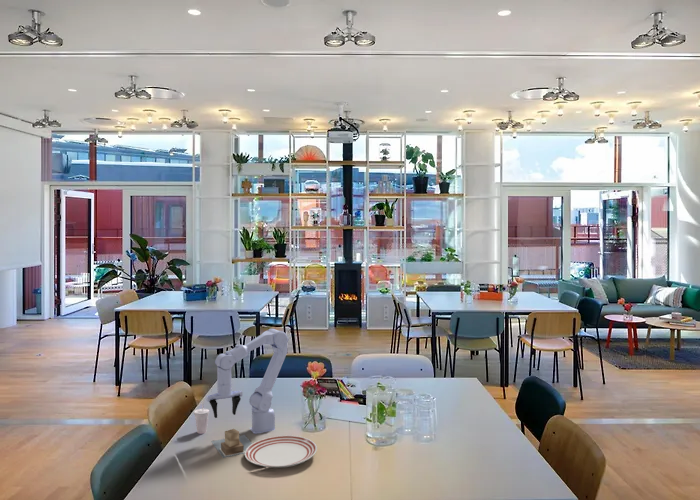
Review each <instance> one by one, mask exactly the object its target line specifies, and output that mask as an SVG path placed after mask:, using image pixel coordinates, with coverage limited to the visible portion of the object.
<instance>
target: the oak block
mask: <svg viewBox="0 0 700 500" xmlns="http://www.w3.org/2000/svg"><path fill="white" fill-rule="evenodd" d="M239 436H240V430H239V431H238V430H237V429H235V428H232V429H229V430H228V429H227V430H225V431H224V439H225V444H226V445H228V446H229V447H232V446H235V445H238V444H239Z"/></svg>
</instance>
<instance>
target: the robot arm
mask: <svg viewBox="0 0 700 500" xmlns="http://www.w3.org/2000/svg"><path fill="white" fill-rule="evenodd" d="M288 343H289V337H288V335H287V333H286V332H284V331H283V330H278V329H276V328H269V329H267V330H265V331H263V332H262V333H261V334H260V335H258V336H256V337H254V339H252V340H250V341H249V342H247V343H245V344H244V345H243V344H235V347H233V348H232V349H230V350H225V353H219V354H218V355H217V356H216V357H215V360H214V364H215V366H216V369H217V372H216V374H217V375H216V376H217V377H216V378H217V380H216V381H217V382H216V383H217V393H212V394H209V395H206V401H207V402H209V404H210V407H211V409H212V412H213V416H214V418H215V419H217V418H218V400H224V399H229V398H230V399H231V403H232V414H233V415H234V416H235V415H236V413H237V409H238V406H239V404H240V402H241V397H243V390H232V389H233V388H232V385H233V383H232V381H233V380H232V368H233V366H234V365H235V364H236V363H238V362H240V361H242V359H245V358H247V357H248V355H249V353H250V352H251V351H254V350H256V349H257V348H259V347H261V346H263V345H270V346H271V348H272V350H273V354H272V355H271V356H272V357H271V358H270V361H269V364H268V365H267V368H266V371H265V373H264V374H263V375H264V376H263V377H262V379H261V382H260V385H259V386H257V387H256V388H255V389H254V391H253V393H252V394H251V395H250V396H249V399H248V402H249V405H250V406H251V427H249V428H248V429H250V431H251V432H252V433H253V434H255V435H257V434H262V433H263V434H264V433H266V432H273V431H276V427H275V426H276V425H275V424H276V417H275V416H276V415H275V411H274V409H273V408H271V407H272V399H273V397H274V396H273V392H272V391H273V388H274V387H275V386H274V385H275V383H276V380H277V378H278V376H279V373H280V371H281V369H282V366H283V363H284V362H285V359H286V358H287V357H286V356H287V355H288Z"/></svg>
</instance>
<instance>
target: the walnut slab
mask: <svg viewBox="0 0 700 500" xmlns="http://www.w3.org/2000/svg"><path fill="white" fill-rule="evenodd" d="M221 450H222V451H223V452H224V454H225V455H231V454H236V453H241V452H244V445H243V444H242V443H241V442H240V441H239V444H238V445H235V446H232V447H229V446H228V445H226V444H225V442H222V443H221Z"/></svg>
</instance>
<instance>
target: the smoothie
mask: <svg viewBox="0 0 700 500" xmlns="http://www.w3.org/2000/svg"><path fill="white" fill-rule="evenodd" d="M204 402H205V401H204V400H201V406H202V407H201V408H198V409H195V410H194V412H193V415H194V417H195V425H196V432H197V434H199V435H201V434H206V433H207V432H208V424H209V414H210V409H208V408H205V406H204V404H205V403H204Z"/></svg>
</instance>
